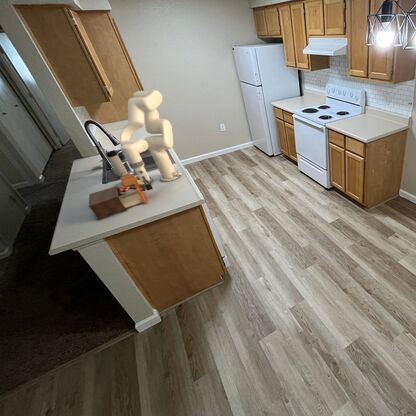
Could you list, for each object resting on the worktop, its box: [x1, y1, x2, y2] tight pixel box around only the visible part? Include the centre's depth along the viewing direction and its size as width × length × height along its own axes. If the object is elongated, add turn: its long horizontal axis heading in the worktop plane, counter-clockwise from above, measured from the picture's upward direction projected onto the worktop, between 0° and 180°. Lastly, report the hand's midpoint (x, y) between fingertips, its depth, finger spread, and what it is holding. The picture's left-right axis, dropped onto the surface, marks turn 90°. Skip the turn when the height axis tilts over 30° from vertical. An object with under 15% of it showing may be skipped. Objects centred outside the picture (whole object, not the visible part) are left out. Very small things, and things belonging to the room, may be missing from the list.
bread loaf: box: [119, 173, 137, 186], centre depth 184 cm, size 8×5×6 cm, turn 126°
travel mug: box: [105, 149, 129, 178], centre depth 198 cm, size 6×7×20 cm
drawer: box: [118, 180, 147, 209], centre depth 168 cm, size 17×16×10 cm
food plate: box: [113, 175, 153, 195], centre depth 186 cm, size 25×23×4 cm
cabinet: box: [88, 185, 127, 221], centre depth 163 cm, size 14×17×10 cm
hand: (149, 189), depth 173 cm, fingers closed
